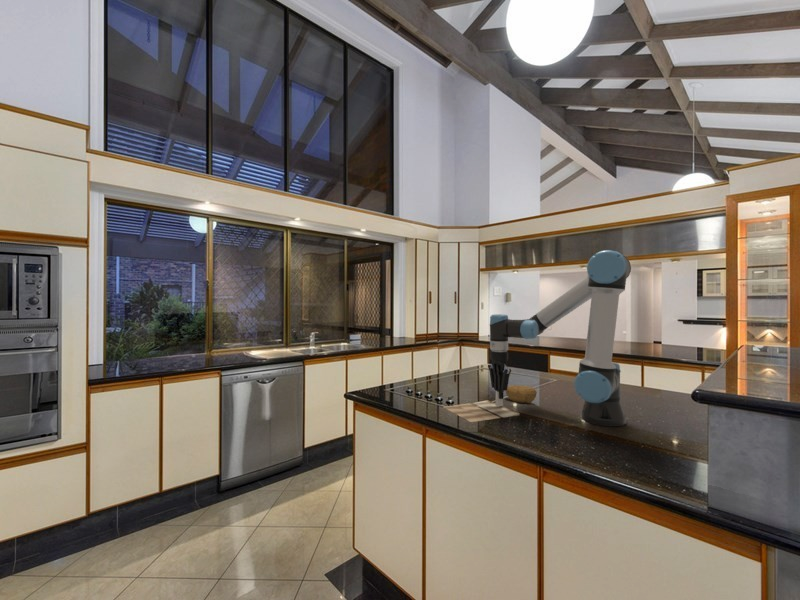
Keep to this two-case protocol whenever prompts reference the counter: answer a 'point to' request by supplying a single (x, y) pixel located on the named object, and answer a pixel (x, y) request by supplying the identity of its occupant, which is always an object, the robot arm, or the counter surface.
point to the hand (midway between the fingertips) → (499, 405)
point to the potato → (521, 393)
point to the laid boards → (471, 412)
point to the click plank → (496, 409)
